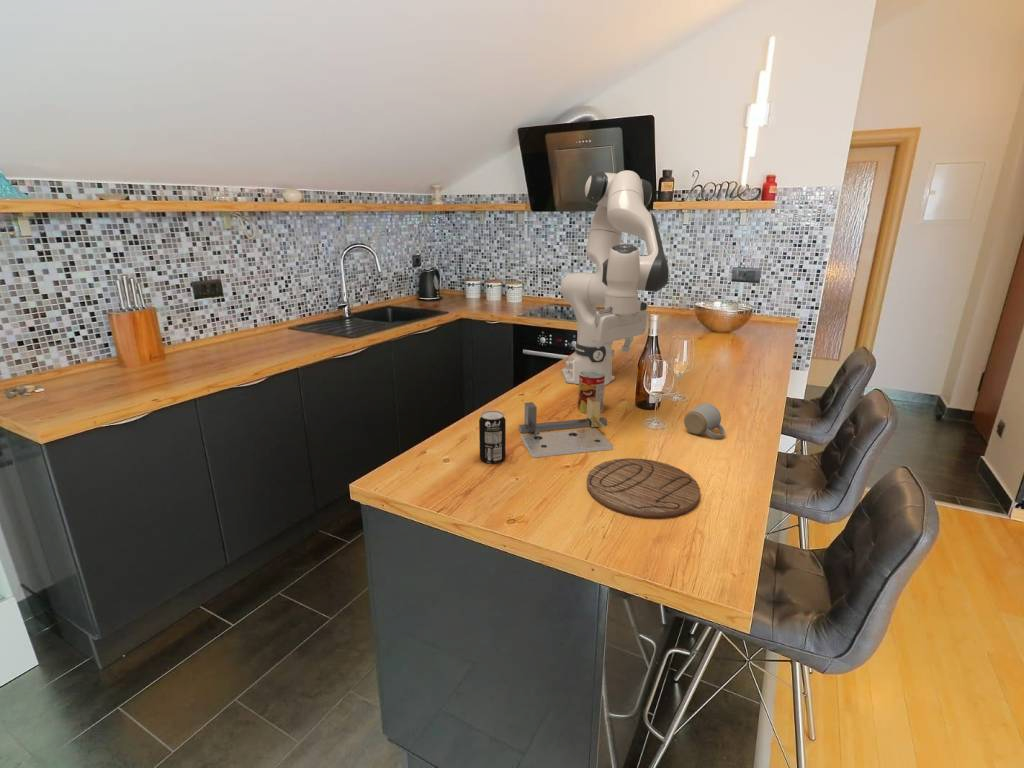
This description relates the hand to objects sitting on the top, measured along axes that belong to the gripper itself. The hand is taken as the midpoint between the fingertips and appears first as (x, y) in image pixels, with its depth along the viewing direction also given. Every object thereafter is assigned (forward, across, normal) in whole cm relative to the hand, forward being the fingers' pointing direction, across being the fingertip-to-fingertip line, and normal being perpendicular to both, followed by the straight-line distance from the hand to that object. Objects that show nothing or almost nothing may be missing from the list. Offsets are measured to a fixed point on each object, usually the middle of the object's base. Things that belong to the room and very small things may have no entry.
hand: (617, 354), depth 153 cm
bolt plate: (+21, -22, -1) cm, 30 cm away
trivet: (+22, -26, -30) cm, 45 cm away
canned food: (+21, +3, +12) cm, 25 cm away
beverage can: (+22, -42, +4) cm, 47 cm away
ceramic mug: (+22, +15, -21) cm, 34 cm away
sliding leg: (+21, -7, 0) cm, 22 cm away
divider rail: (+21, -15, +4) cm, 26 cm away
